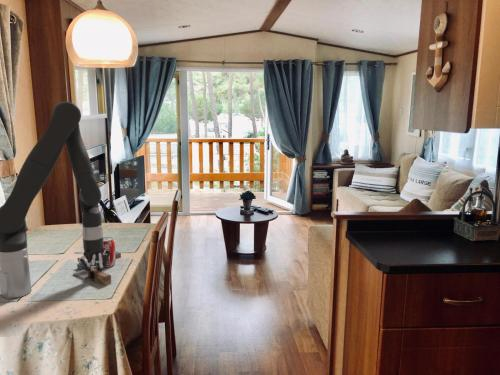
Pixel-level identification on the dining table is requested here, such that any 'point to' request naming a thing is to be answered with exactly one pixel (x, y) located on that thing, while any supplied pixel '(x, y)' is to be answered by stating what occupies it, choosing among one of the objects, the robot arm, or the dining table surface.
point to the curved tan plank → (95, 276)
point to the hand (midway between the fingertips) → (95, 277)
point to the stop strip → (95, 262)
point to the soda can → (110, 247)
